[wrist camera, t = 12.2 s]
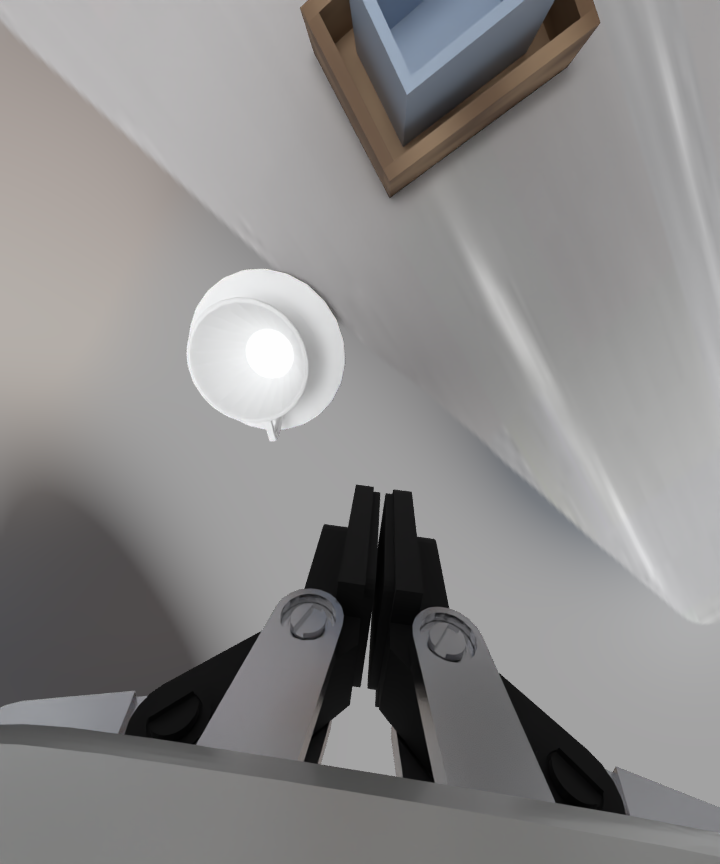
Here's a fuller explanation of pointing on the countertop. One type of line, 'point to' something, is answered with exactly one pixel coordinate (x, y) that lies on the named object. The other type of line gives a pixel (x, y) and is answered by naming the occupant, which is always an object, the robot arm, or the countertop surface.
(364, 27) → the slate crate
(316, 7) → the walnut crate
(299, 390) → the teacup
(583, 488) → the countertop surface
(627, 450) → the countertop surface
